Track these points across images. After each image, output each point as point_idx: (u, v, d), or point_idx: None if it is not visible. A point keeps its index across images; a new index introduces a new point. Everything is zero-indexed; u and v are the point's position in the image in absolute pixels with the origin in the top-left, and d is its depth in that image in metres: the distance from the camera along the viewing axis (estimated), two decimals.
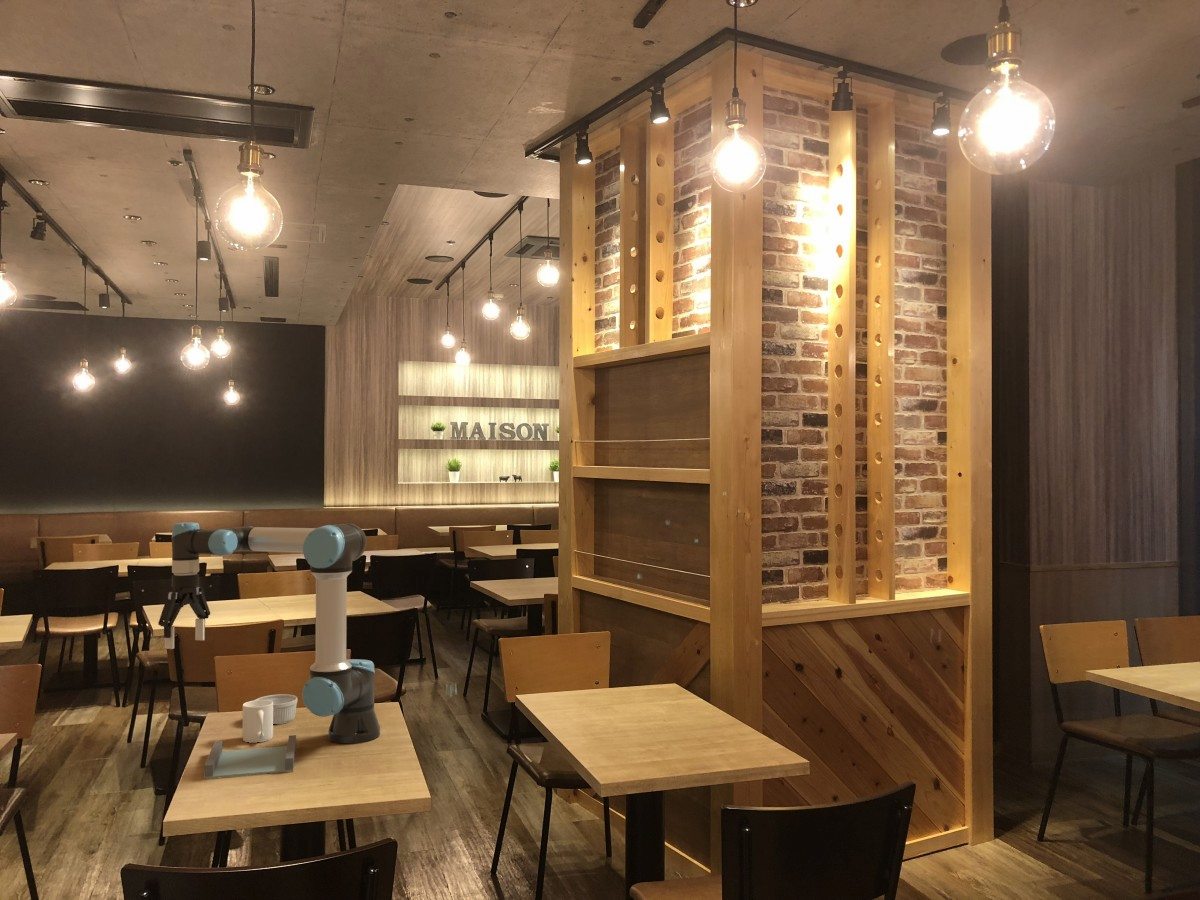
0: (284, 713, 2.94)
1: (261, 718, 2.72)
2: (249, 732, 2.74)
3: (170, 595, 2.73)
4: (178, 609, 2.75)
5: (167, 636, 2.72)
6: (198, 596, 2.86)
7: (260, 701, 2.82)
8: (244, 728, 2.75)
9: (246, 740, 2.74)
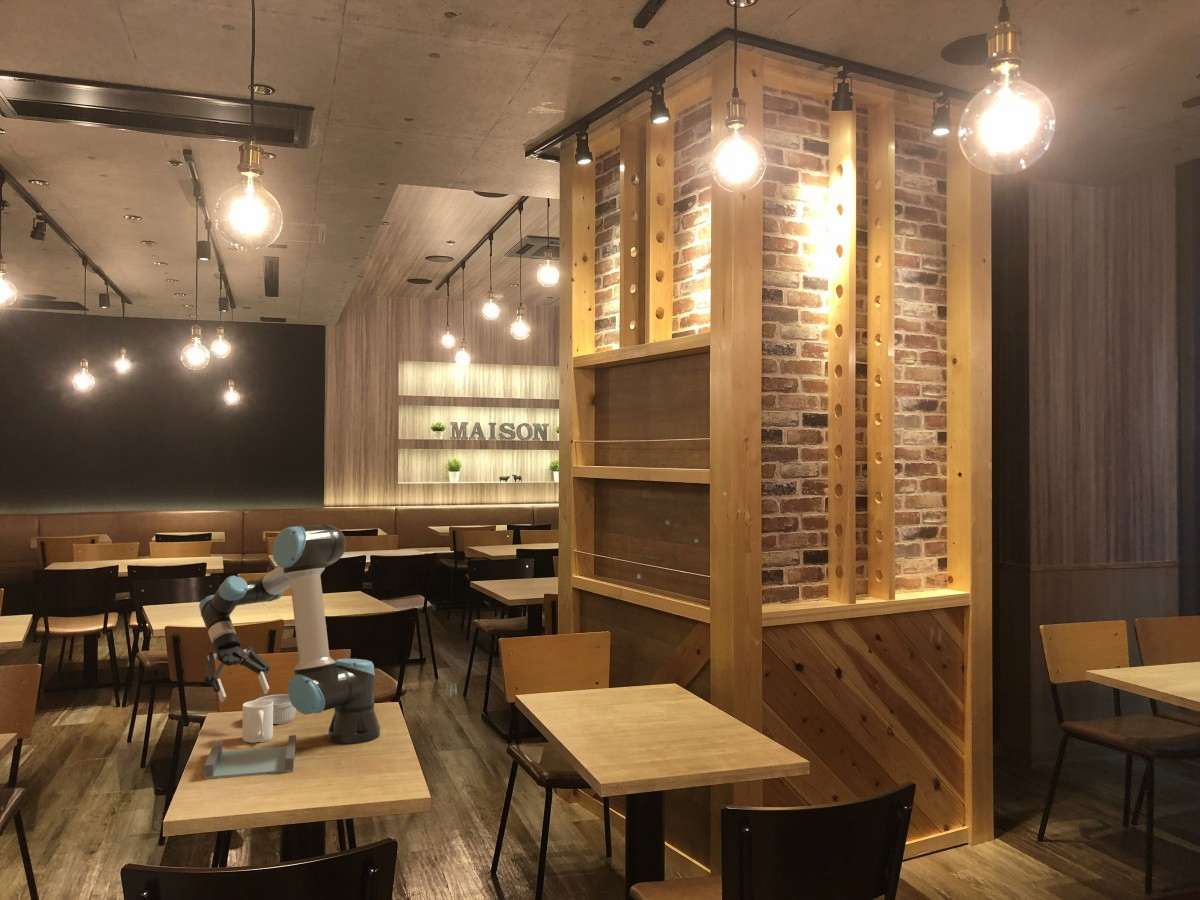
0: (284, 713, 2.94)
1: (261, 718, 2.72)
2: (249, 732, 2.74)
3: (208, 656, 2.85)
4: (221, 665, 2.84)
5: (215, 688, 2.78)
6: (250, 655, 2.93)
7: (260, 701, 2.82)
8: (244, 728, 2.75)
9: (246, 740, 2.74)
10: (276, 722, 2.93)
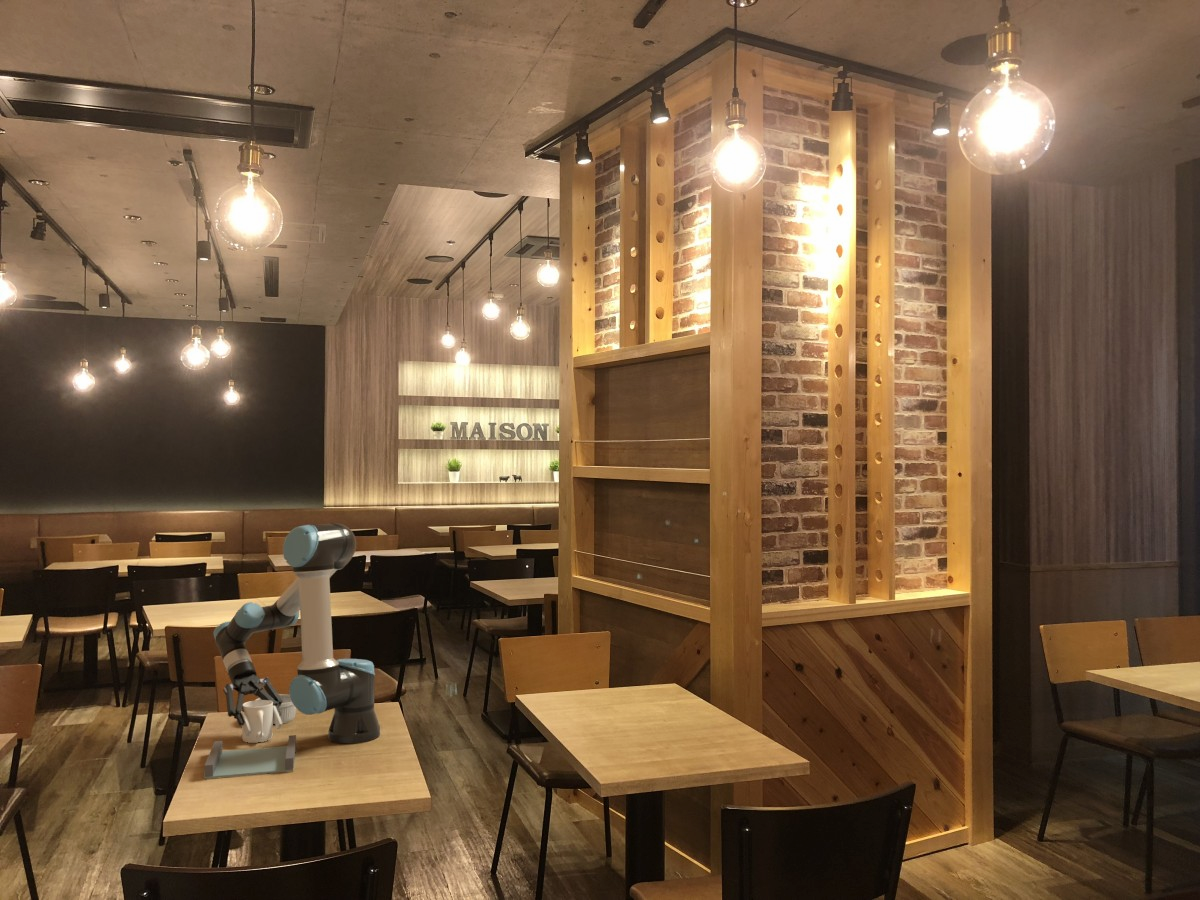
0: (284, 713, 2.94)
1: (261, 718, 2.72)
2: None
3: (225, 688, 2.77)
4: (241, 696, 2.77)
5: (240, 722, 2.71)
6: (266, 686, 2.85)
7: (260, 701, 2.82)
8: None
9: (246, 740, 2.74)
10: None
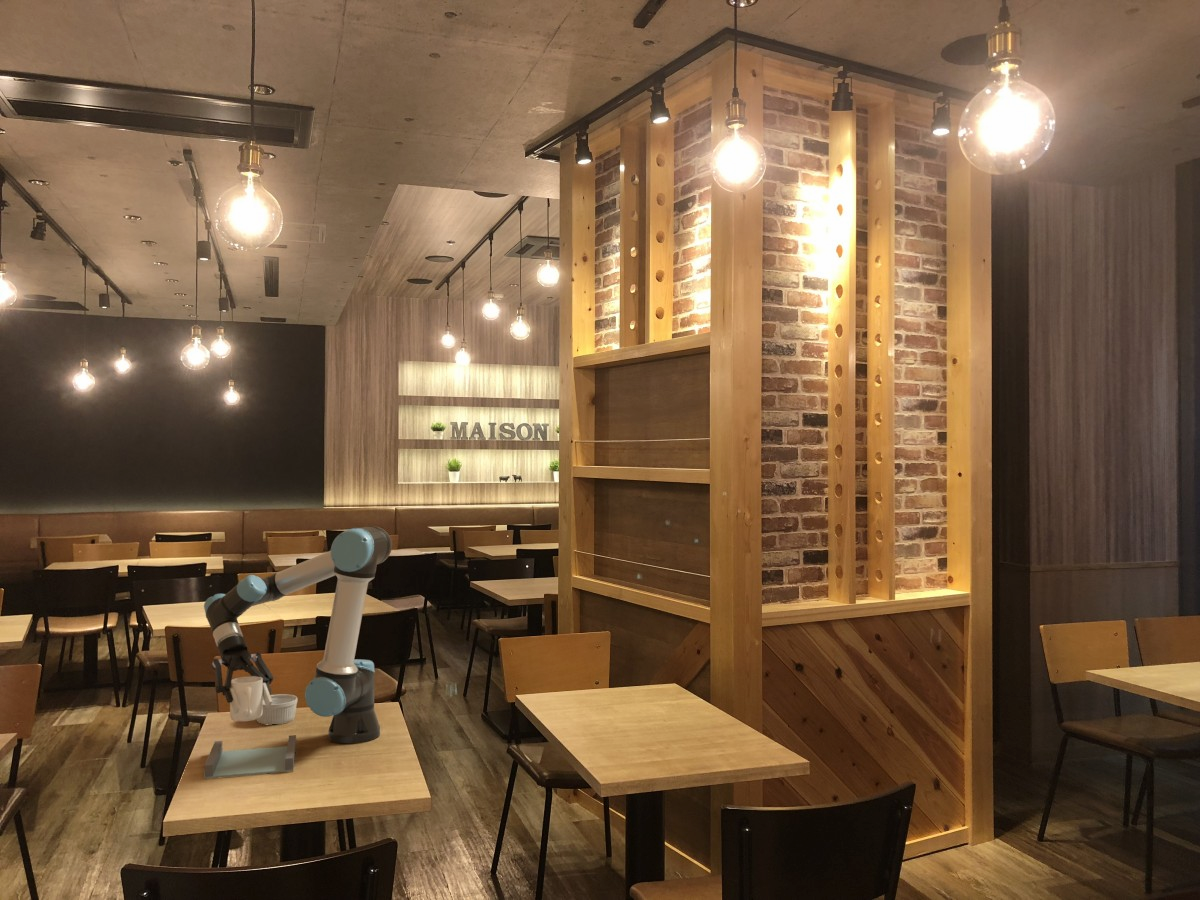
0: (284, 713, 2.94)
1: (248, 695, 2.56)
2: None
3: (213, 663, 2.62)
4: (230, 672, 2.62)
5: (228, 699, 2.56)
6: (257, 662, 2.70)
7: (249, 677, 2.66)
8: (231, 705, 2.59)
9: (233, 718, 2.59)
10: (276, 722, 2.93)
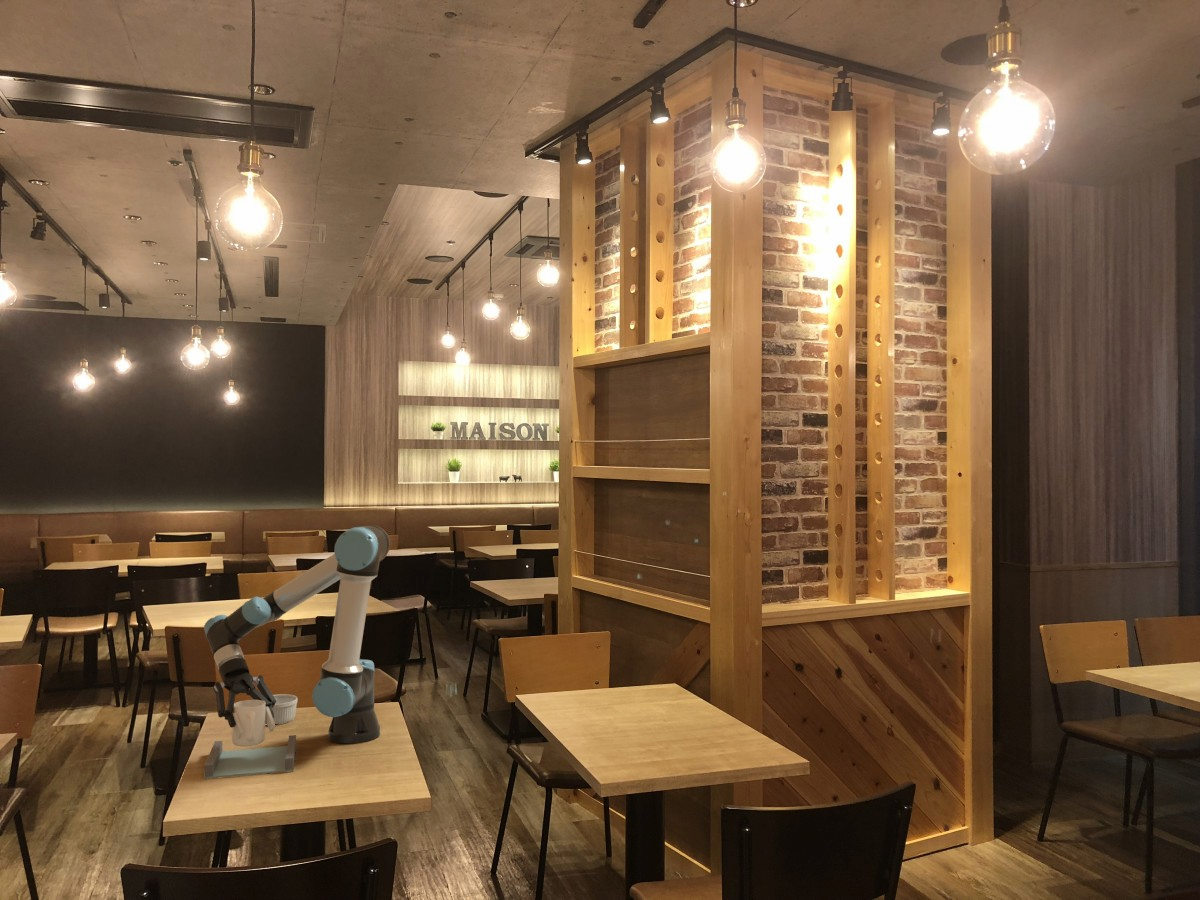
0: (284, 713, 2.94)
1: (252, 719, 2.51)
2: None
3: (215, 687, 2.57)
4: (232, 695, 2.57)
5: (231, 723, 2.51)
6: (259, 685, 2.65)
7: (252, 701, 2.61)
8: None
9: (236, 743, 2.54)
10: (276, 722, 2.93)
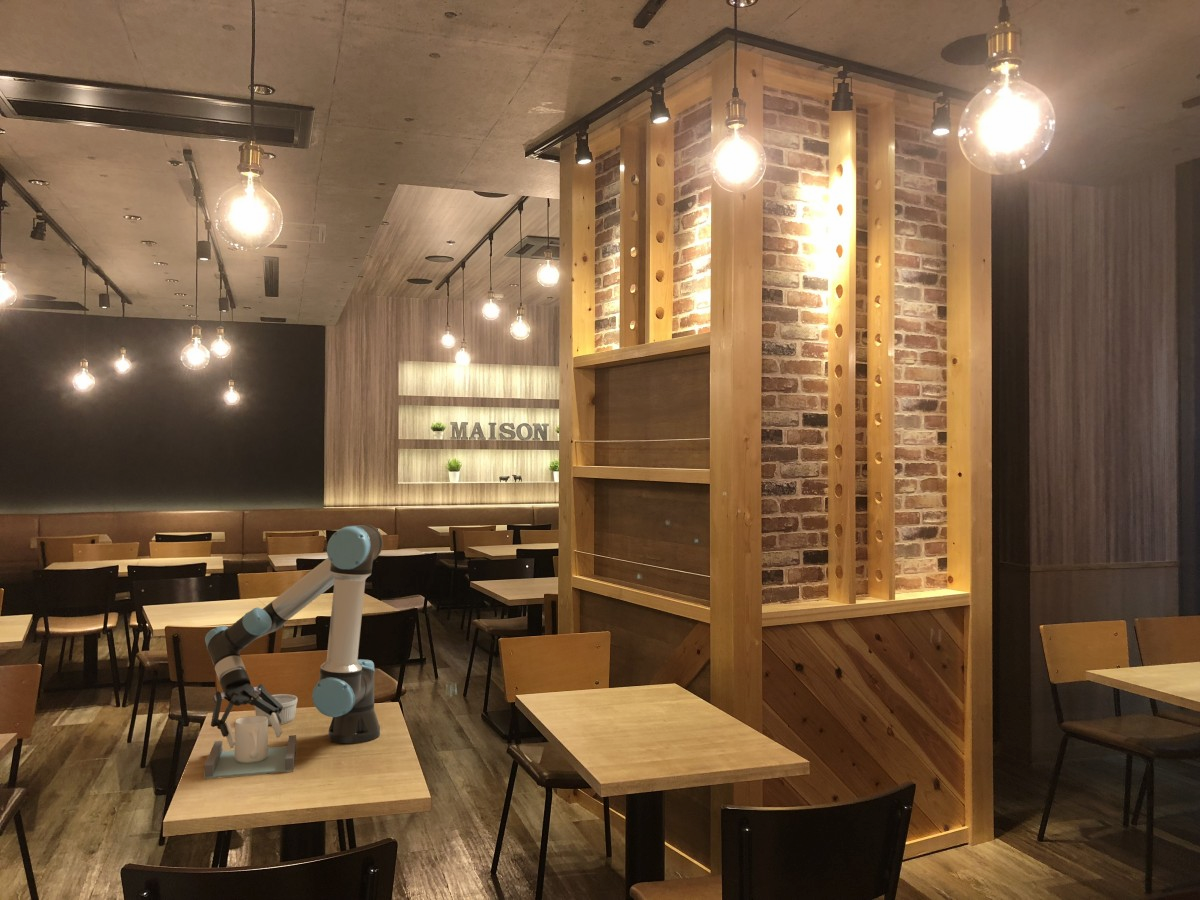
0: (284, 713, 2.94)
1: (255, 736, 2.52)
2: (242, 751, 2.53)
3: (215, 696, 2.57)
4: (229, 706, 2.56)
5: (224, 733, 2.50)
6: (261, 694, 2.66)
7: (254, 717, 2.62)
8: (236, 747, 2.54)
9: (238, 760, 2.54)
10: None
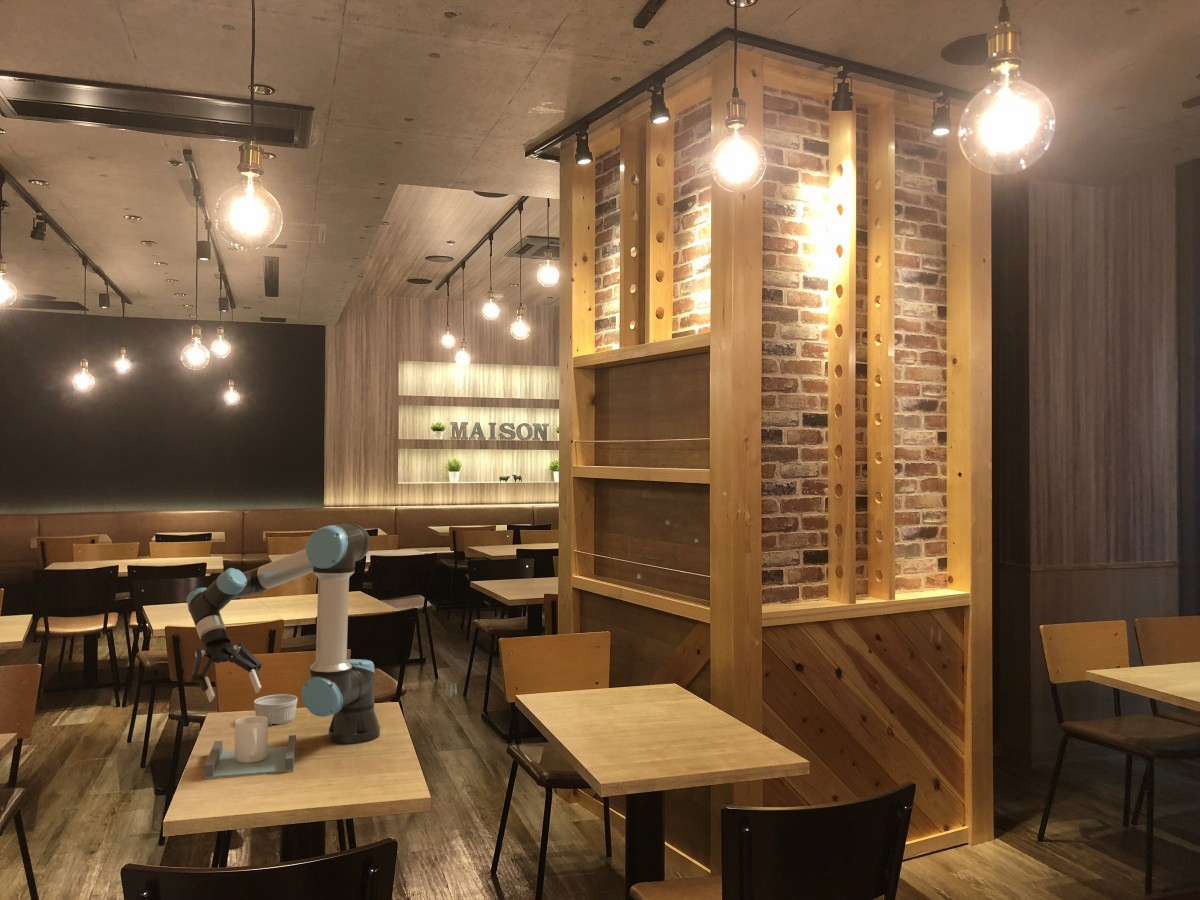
0: (284, 713, 2.94)
1: (255, 736, 2.52)
2: (242, 751, 2.53)
3: (195, 653, 2.67)
4: (209, 662, 2.66)
5: (203, 687, 2.60)
6: (241, 652, 2.75)
7: (254, 717, 2.62)
8: (236, 747, 2.54)
9: (238, 760, 2.54)
10: (276, 722, 2.93)
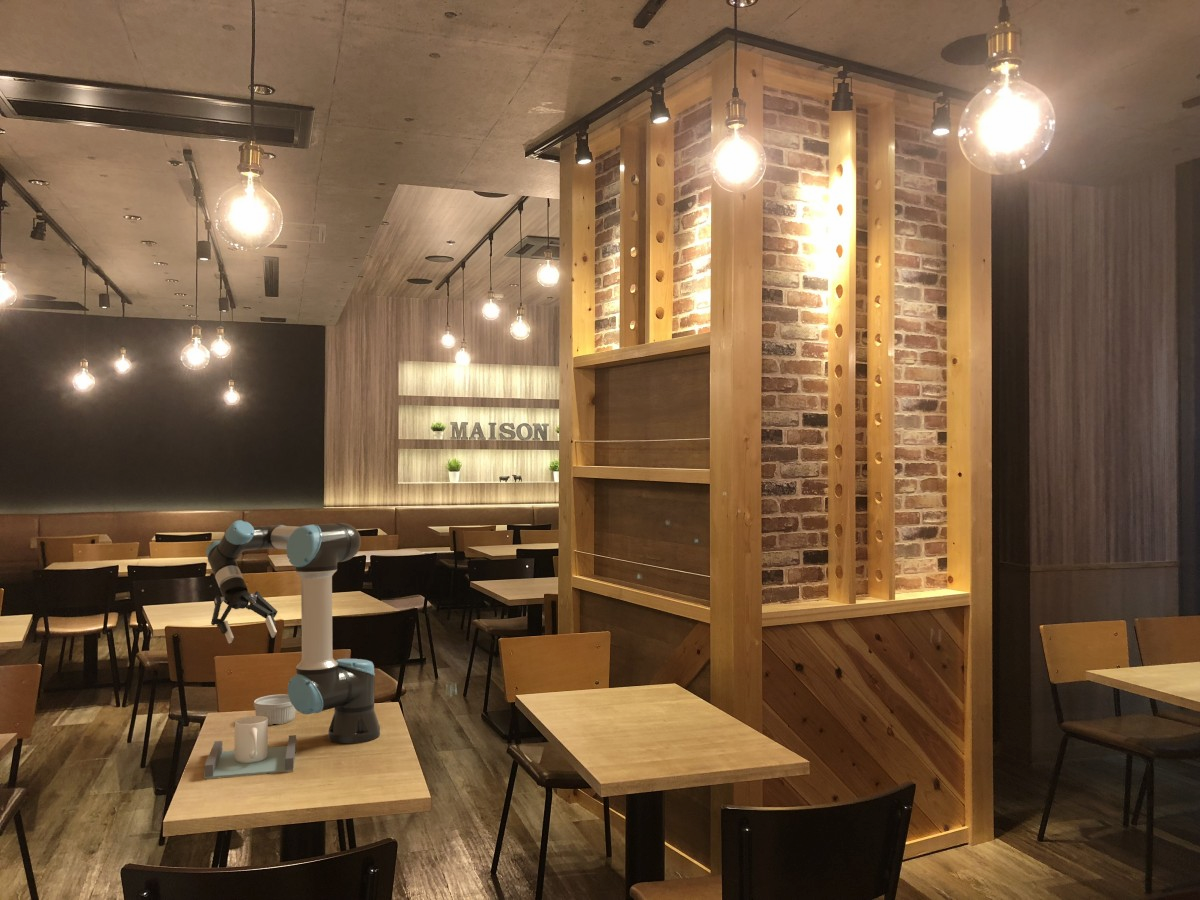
0: (284, 713, 2.94)
1: (255, 736, 2.52)
2: (242, 751, 2.53)
3: (215, 599, 2.84)
4: (228, 607, 2.83)
5: (223, 630, 2.77)
6: (257, 600, 2.92)
7: (254, 717, 2.62)
8: (236, 747, 2.54)
9: (238, 760, 2.54)
10: (276, 722, 2.93)
